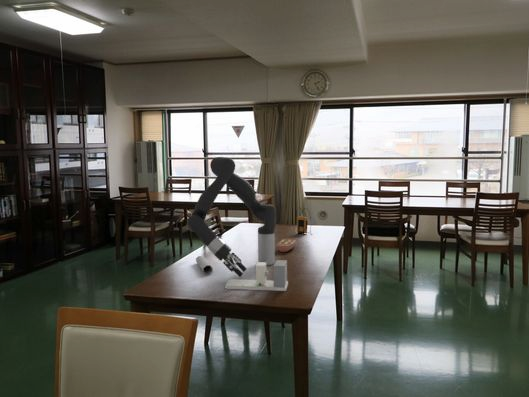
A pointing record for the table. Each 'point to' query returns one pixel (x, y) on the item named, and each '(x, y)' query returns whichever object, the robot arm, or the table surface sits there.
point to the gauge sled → (261, 273)
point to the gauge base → (277, 285)
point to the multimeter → (302, 223)
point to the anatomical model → (285, 244)
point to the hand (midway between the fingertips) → (243, 272)
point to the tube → (204, 265)
